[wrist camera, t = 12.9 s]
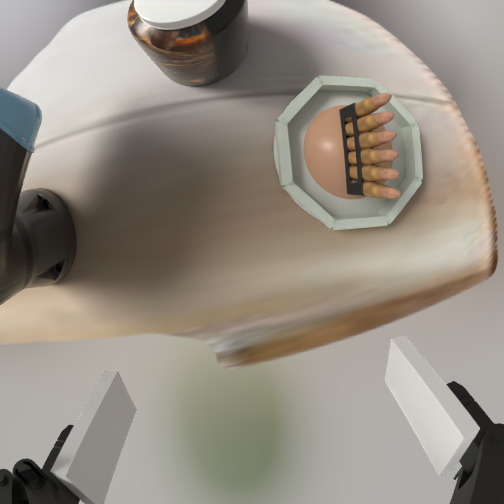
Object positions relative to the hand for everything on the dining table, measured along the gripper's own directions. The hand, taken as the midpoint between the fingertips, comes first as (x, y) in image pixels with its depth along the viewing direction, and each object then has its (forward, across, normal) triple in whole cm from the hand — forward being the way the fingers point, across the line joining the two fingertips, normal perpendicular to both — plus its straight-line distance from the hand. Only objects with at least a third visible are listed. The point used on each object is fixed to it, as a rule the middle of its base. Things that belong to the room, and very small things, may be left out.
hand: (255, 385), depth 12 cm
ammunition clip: (+24, +14, +10) cm, 30 cm away
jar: (+27, -2, +27) cm, 38 cm away
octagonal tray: (+26, +14, +10) cm, 31 cm away
